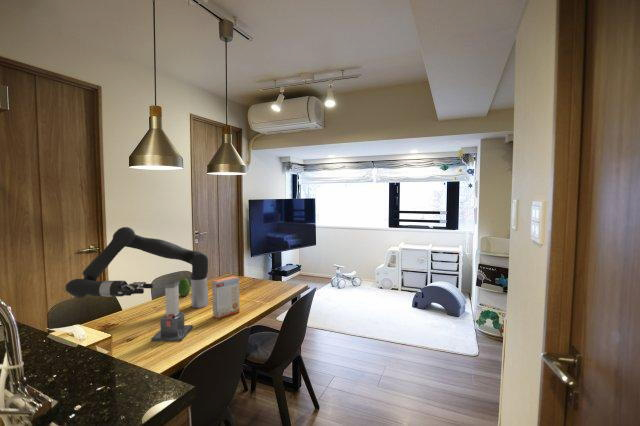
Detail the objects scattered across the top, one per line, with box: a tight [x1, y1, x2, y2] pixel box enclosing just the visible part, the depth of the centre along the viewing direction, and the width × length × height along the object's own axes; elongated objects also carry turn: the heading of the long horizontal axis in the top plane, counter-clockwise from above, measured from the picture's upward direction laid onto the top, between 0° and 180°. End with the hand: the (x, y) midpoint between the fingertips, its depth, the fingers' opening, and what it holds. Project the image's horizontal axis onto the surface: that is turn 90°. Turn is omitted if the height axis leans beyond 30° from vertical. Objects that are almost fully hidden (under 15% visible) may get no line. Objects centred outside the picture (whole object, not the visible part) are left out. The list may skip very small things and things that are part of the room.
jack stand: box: [150, 311, 193, 342], centre depth 149 cm, size 14×14×10 cm
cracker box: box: [211, 275, 241, 320], centre depth 174 cm, size 14×6×21 cm, turn 134°
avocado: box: [178, 278, 191, 297], centre depth 206 cm, size 8×8×12 cm
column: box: [163, 280, 180, 317], centre depth 149 cm, size 6×4×24 cm
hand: (148, 288), depth 147 cm, fingers open, 8 cm apart
